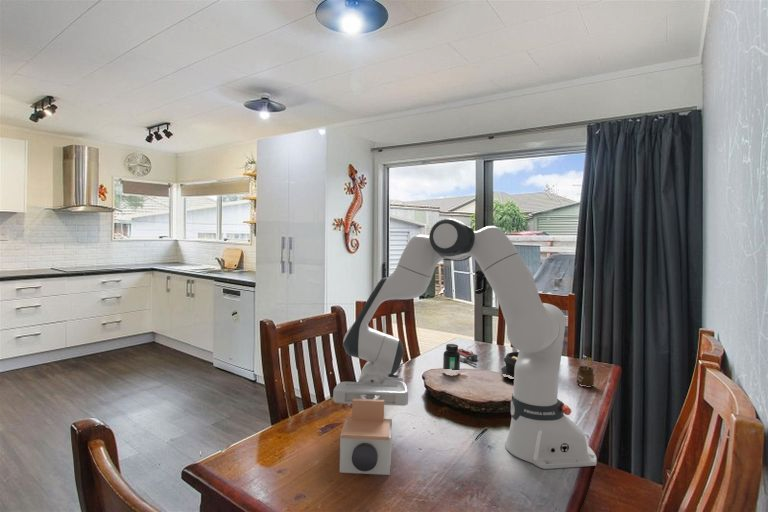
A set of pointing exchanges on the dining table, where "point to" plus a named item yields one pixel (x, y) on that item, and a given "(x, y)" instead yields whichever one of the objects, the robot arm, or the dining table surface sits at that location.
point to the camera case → (365, 455)
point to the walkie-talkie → (467, 356)
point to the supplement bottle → (451, 357)
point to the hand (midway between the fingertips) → (368, 405)
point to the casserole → (510, 363)
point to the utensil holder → (585, 374)
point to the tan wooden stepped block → (367, 421)
